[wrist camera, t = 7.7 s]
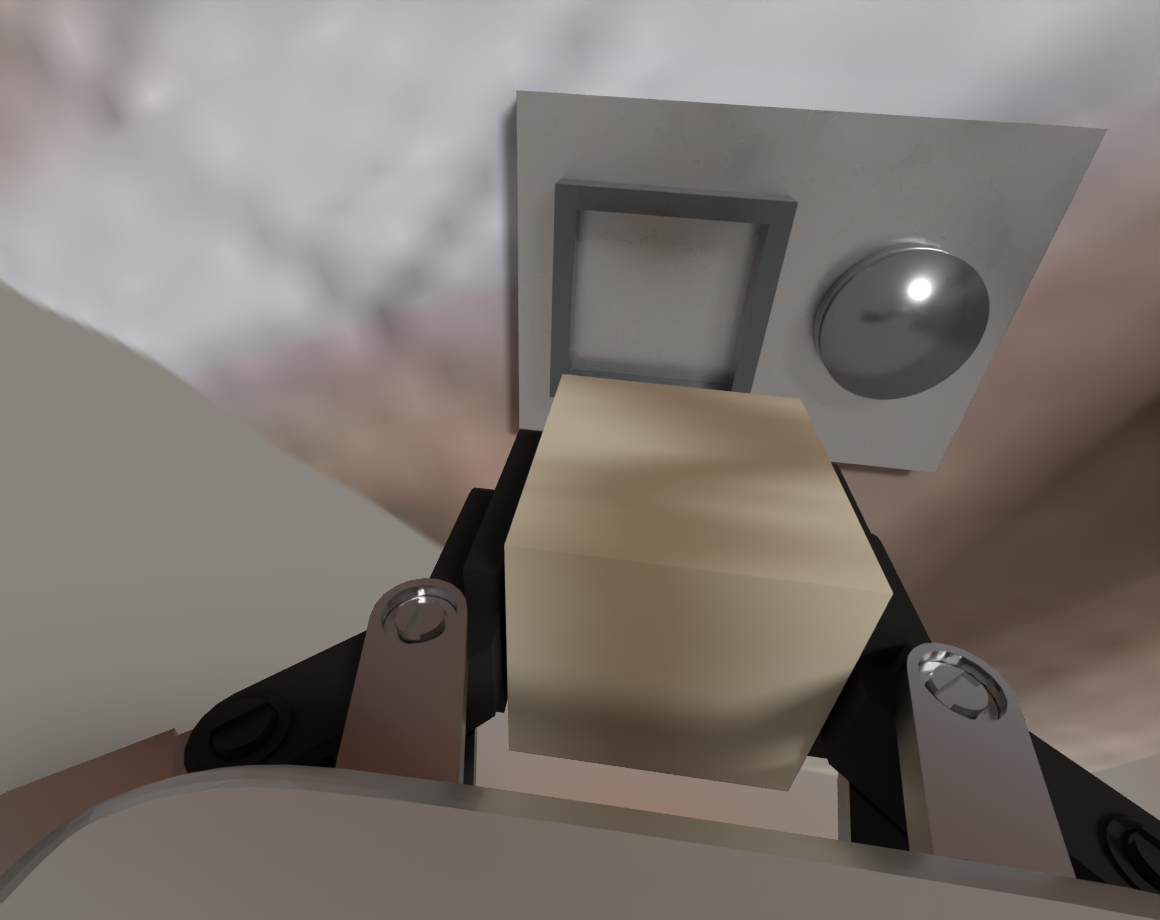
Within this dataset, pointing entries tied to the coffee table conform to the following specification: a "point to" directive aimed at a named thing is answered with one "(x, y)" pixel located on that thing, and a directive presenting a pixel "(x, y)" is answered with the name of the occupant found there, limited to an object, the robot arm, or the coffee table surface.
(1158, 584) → the coffee table surface
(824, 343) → the carrier plate
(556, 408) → the block
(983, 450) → the coffee table surface
